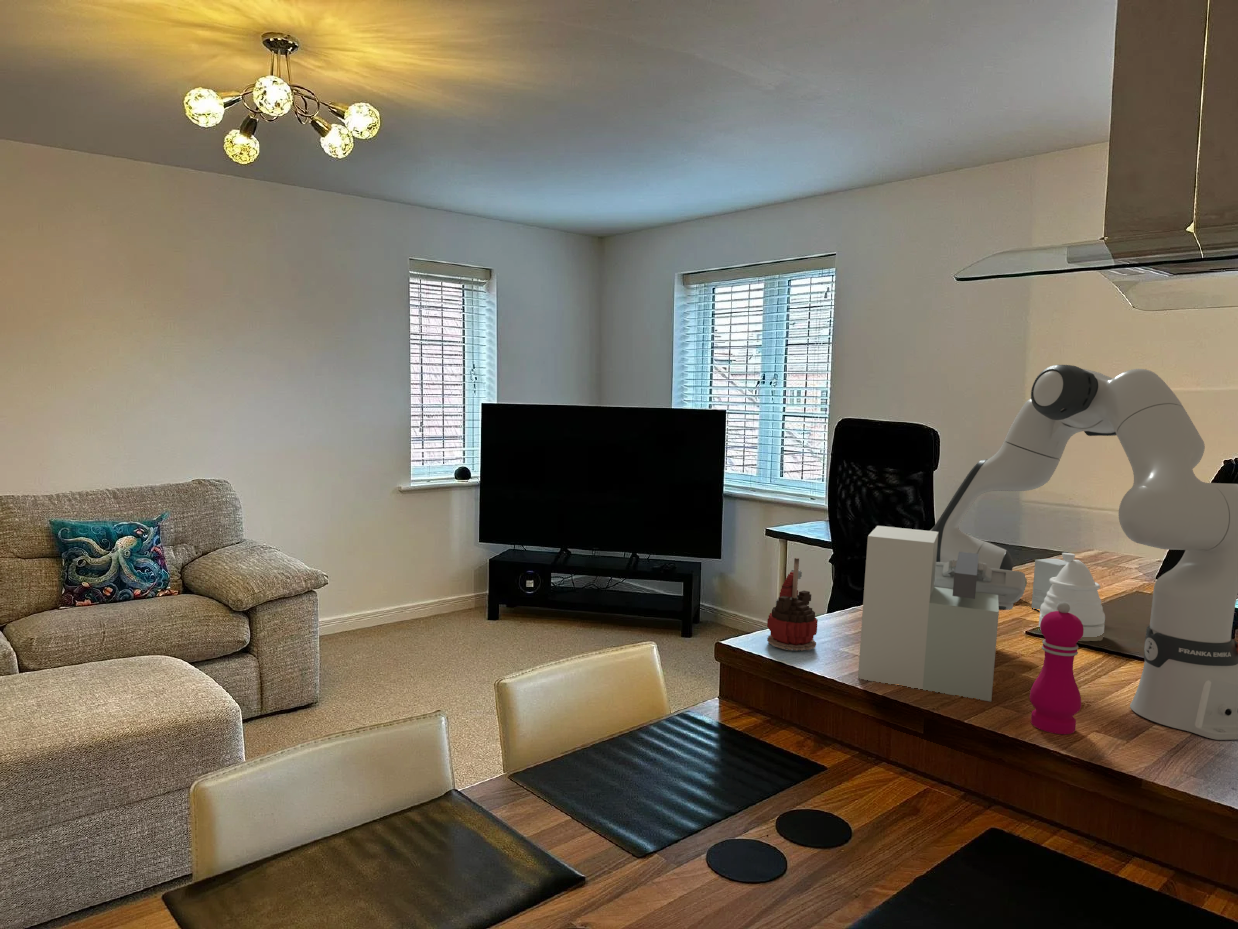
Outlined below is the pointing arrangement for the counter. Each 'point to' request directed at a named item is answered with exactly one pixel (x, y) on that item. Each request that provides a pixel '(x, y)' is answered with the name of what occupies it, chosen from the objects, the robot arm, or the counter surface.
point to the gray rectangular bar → (965, 575)
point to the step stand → (923, 621)
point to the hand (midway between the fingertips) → (967, 565)
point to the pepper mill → (1057, 673)
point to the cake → (792, 616)
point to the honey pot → (1076, 596)
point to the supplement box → (1044, 578)
